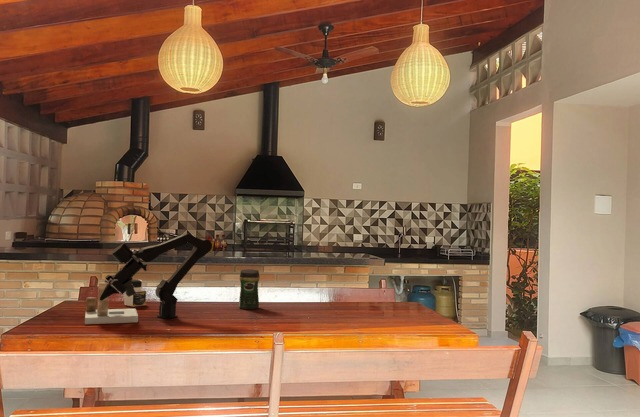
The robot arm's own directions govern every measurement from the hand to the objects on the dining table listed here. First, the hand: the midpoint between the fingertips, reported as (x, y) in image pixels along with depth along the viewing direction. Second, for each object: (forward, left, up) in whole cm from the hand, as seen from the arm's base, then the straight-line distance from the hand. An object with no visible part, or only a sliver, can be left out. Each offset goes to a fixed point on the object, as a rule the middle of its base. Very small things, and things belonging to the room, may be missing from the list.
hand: (99, 299), depth 227 cm
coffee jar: (-29, -63, -9) cm, 70 cm away
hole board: (0, -6, -9) cm, 11 cm away
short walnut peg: (+10, -4, -7) cm, 12 cm away
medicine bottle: (+17, -35, -9) cm, 40 cm away
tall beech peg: (-1, -1, -7) cm, 7 cm away
